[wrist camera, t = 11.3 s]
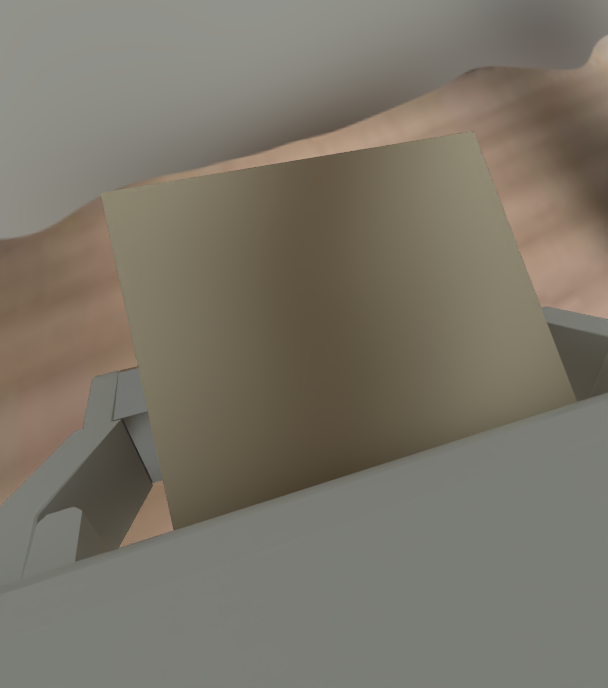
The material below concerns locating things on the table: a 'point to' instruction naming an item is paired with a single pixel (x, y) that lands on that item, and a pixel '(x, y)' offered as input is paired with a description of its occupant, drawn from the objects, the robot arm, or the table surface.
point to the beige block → (326, 318)
